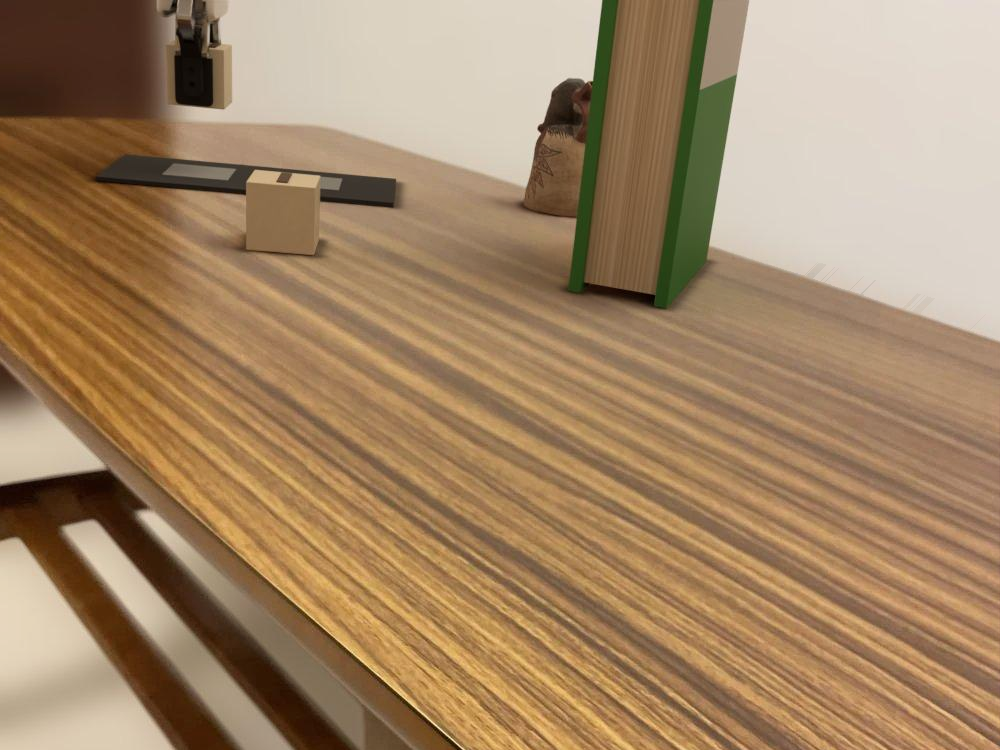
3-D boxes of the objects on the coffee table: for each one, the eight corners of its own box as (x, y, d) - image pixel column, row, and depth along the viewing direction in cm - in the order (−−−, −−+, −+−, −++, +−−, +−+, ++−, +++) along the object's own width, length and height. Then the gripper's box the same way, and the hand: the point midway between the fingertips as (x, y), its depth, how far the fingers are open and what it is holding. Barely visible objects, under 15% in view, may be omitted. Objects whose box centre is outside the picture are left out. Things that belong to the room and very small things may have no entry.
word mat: (95, 180, 108) (95, 175, 108) (125, 158, 119) (125, 153, 119) (393, 207, 111) (393, 201, 111) (395, 182, 122) (396, 177, 122)
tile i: (246, 250, 92) (246, 180, 90) (254, 235, 96) (254, 168, 94) (314, 255, 92) (315, 186, 90) (319, 240, 97) (320, 174, 95)
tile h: (167, 104, 109) (165, 42, 107) (176, 97, 114) (175, 38, 112) (224, 109, 110) (223, 48, 108) (232, 102, 114) (231, 43, 112)
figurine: (572, 200, 123) (587, 73, 118) (612, 216, 118) (629, 84, 113) (511, 201, 119) (523, 70, 114) (550, 218, 114) (564, 81, 109)
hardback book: (666, 308, 89) (722, -59, 79) (568, 290, 91) (610, -71, 80) (706, 261, 105) (757, -51, 94) (622, 246, 106) (663, -62, 96)
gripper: (168, -128, 111) (174, 85, 119) (128, -136, 96) (137, 109, 104) (253, -118, 112) (253, 93, 120) (226, -124, 97) (228, 118, 105)
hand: (199, 98), depth 112 cm, fingers closed on tile h, 5 cm apart
